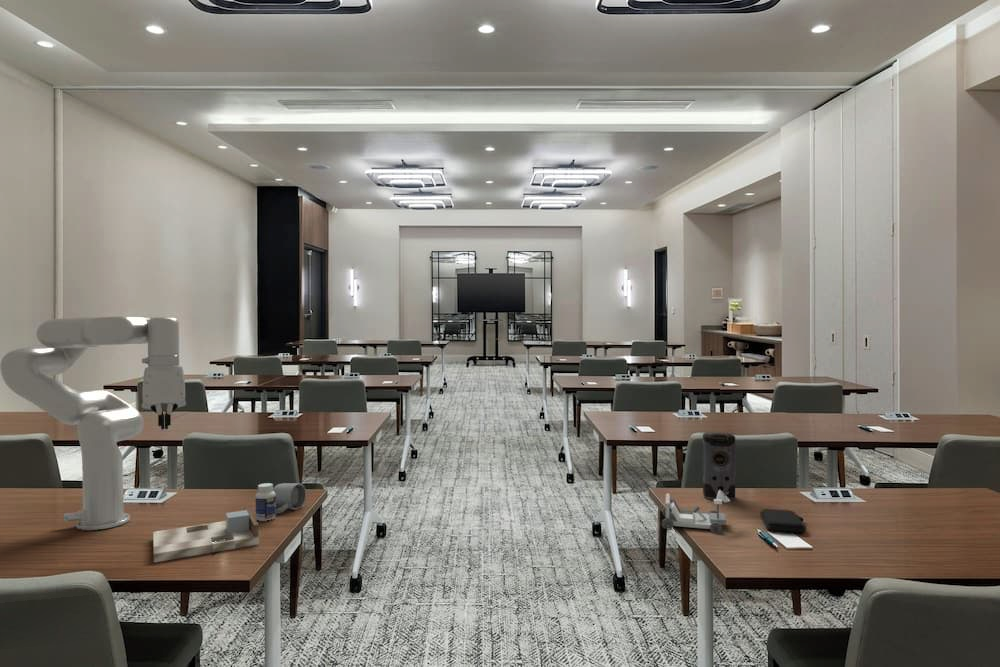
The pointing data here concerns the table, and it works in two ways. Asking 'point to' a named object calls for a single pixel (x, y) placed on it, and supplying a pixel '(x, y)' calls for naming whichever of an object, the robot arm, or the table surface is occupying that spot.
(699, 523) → the toy car
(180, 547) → the board
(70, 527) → the table surface
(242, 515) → the block
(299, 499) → the ceramic mug
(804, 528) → the carrying case or bag
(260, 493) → the pill bottle
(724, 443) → the electronic device
